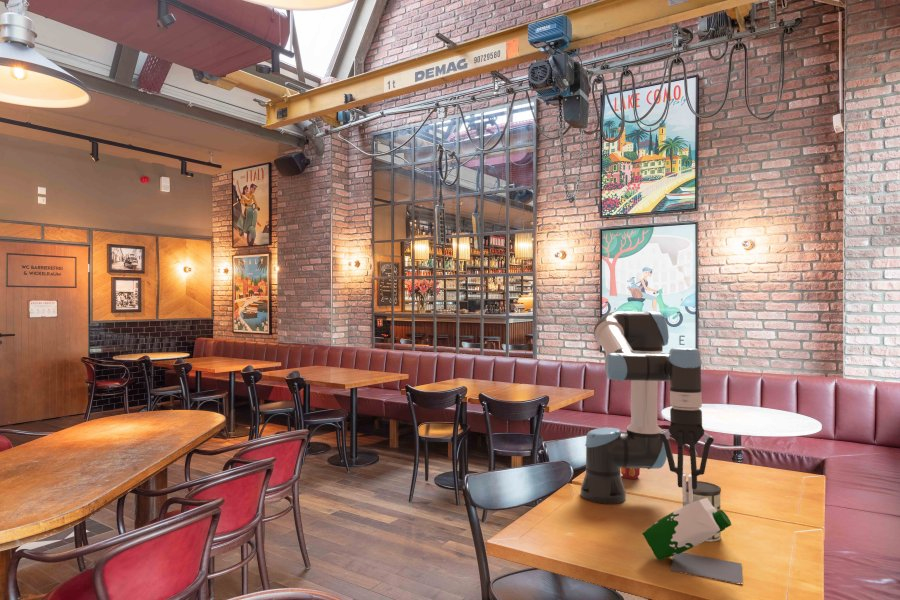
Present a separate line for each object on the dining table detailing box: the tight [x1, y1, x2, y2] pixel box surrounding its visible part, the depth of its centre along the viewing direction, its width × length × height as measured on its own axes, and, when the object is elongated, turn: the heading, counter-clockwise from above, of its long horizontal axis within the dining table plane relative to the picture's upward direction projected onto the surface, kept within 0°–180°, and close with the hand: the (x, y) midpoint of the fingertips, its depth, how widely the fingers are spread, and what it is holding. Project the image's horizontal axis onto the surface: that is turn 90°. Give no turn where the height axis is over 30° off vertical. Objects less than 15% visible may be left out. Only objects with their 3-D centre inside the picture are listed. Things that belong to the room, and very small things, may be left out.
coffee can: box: [682, 480, 722, 543], centre depth 161 cm, size 10×10×14 cm
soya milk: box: [642, 498, 732, 561], centre depth 142 cm, size 9×9×20 cm
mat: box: [670, 552, 744, 584], centre depth 140 cm, size 16×12×1 cm
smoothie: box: [620, 467, 641, 480], centre depth 216 cm, size 8×8×20 cm
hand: (687, 500), depth 142 cm, fingers closed
